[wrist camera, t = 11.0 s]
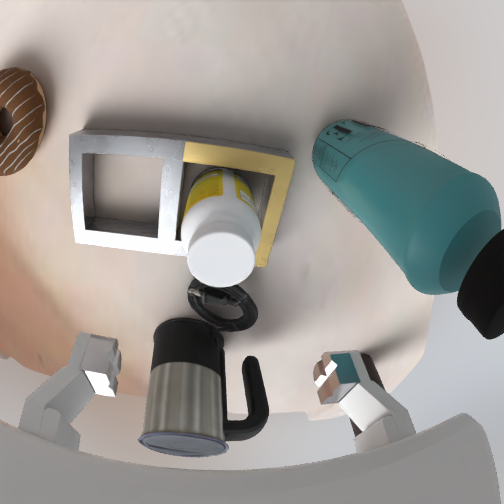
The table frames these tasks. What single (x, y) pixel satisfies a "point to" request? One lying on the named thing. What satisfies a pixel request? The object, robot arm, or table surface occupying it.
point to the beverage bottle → (421, 215)
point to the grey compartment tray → (169, 186)
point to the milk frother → (200, 380)
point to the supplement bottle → (220, 228)
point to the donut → (21, 118)
